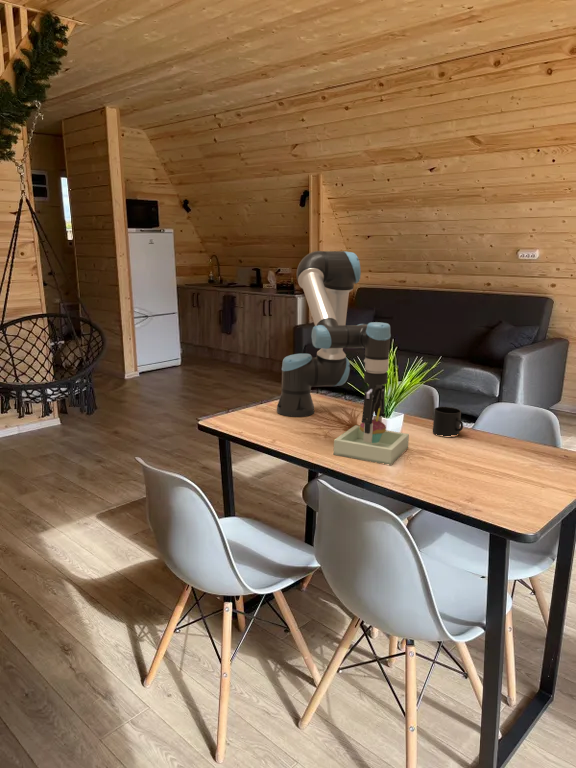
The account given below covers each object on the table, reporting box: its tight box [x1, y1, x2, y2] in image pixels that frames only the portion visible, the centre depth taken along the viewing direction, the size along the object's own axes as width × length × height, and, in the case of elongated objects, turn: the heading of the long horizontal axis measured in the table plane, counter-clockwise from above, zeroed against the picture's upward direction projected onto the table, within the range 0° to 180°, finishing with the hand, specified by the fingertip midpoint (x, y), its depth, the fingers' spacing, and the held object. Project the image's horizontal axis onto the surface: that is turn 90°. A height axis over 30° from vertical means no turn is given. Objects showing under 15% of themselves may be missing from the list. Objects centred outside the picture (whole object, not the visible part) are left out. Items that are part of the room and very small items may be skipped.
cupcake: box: [359, 406, 387, 443], centre depth 198 cm, size 9×8×12 cm
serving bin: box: [333, 424, 410, 466], centre depth 200 cm, size 19×19×5 cm
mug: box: [432, 406, 464, 436], centre depth 220 cm, size 9×12×9 cm
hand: (372, 438), depth 199 cm, fingers closed on cupcake, 8 cm apart
